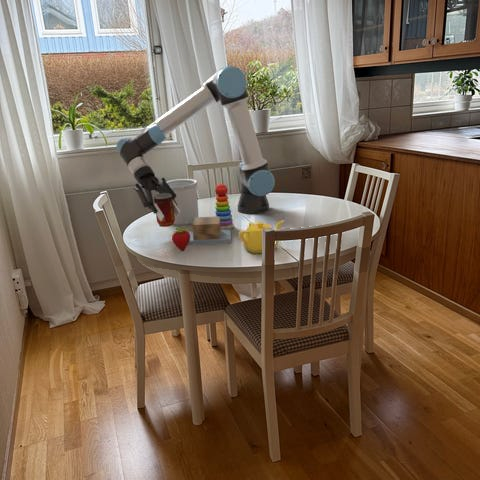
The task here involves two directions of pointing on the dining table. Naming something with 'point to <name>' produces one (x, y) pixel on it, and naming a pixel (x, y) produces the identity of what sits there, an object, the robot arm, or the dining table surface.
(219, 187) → the stacking toy
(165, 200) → the jam jar
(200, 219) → the block
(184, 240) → the strawberry
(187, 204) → the utensil holder
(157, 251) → the dining table surface
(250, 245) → the teapot
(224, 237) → the base board
